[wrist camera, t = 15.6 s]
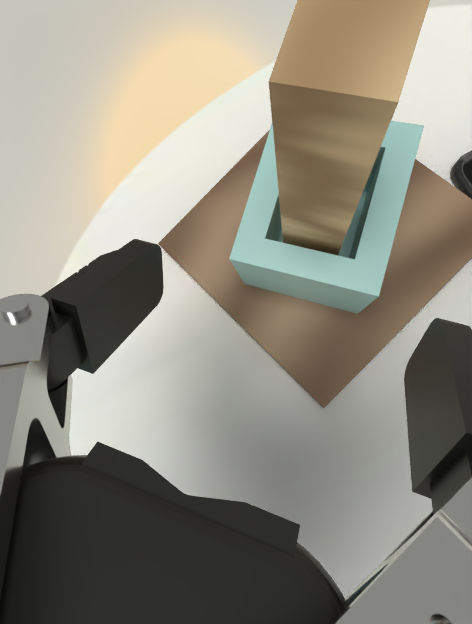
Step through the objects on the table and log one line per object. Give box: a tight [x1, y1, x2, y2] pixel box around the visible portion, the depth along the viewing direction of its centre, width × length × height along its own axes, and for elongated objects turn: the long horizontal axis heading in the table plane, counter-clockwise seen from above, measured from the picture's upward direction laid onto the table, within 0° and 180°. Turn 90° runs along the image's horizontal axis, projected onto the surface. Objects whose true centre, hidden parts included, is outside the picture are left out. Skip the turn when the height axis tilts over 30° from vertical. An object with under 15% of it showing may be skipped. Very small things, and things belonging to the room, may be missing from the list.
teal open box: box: [229, 121, 424, 314], centre depth 20 cm, size 8×9×6 cm
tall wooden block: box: [269, 0, 430, 255], centre depth 15 cm, size 3×4×14 cm, turn 161°
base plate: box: [158, 130, 472, 408], centre depth 23 cm, size 16×16×1 cm
